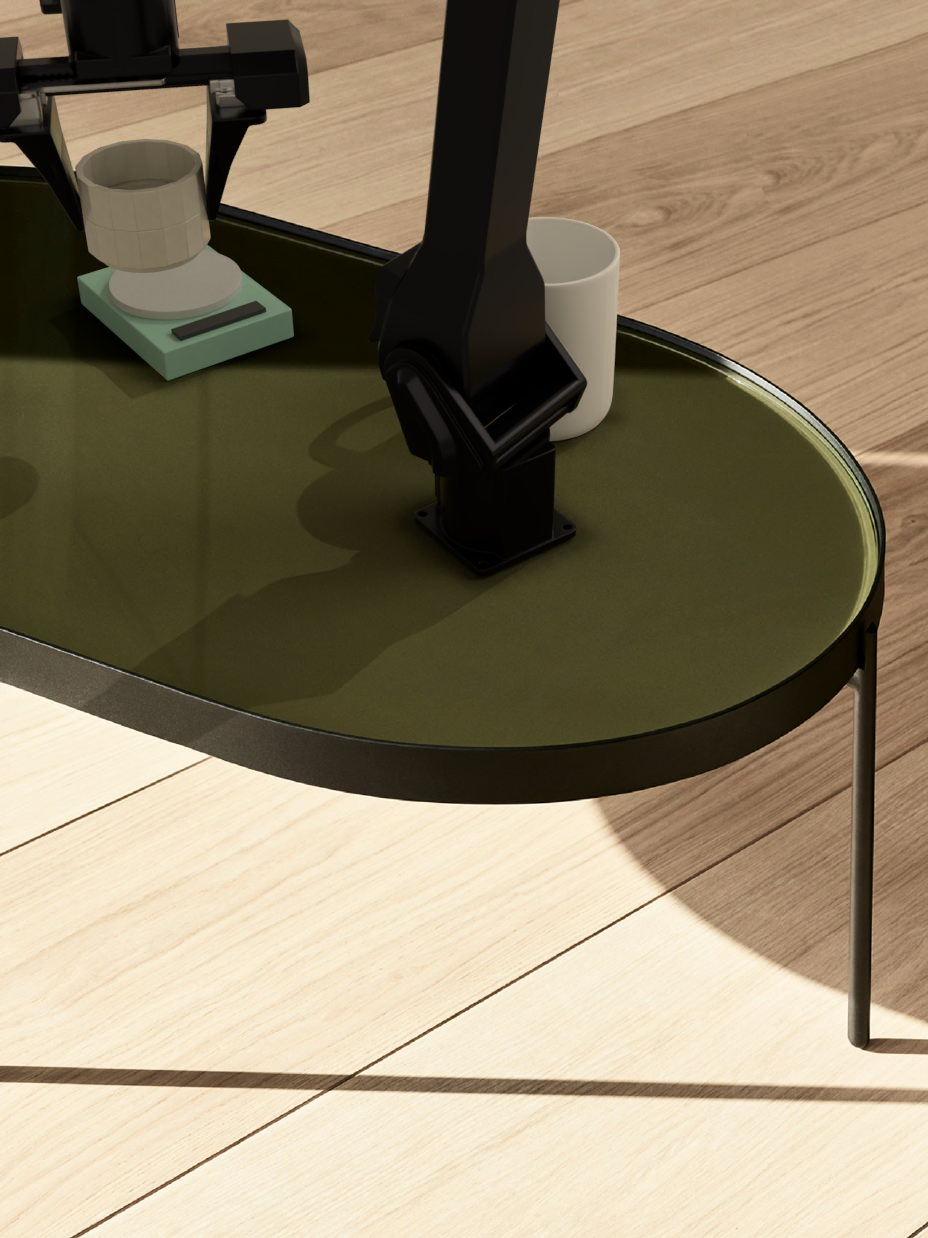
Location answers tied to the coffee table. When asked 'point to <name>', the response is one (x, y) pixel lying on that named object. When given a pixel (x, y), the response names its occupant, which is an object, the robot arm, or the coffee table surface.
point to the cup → (580, 308)
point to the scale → (187, 312)
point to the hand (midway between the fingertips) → (147, 222)
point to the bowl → (143, 204)
